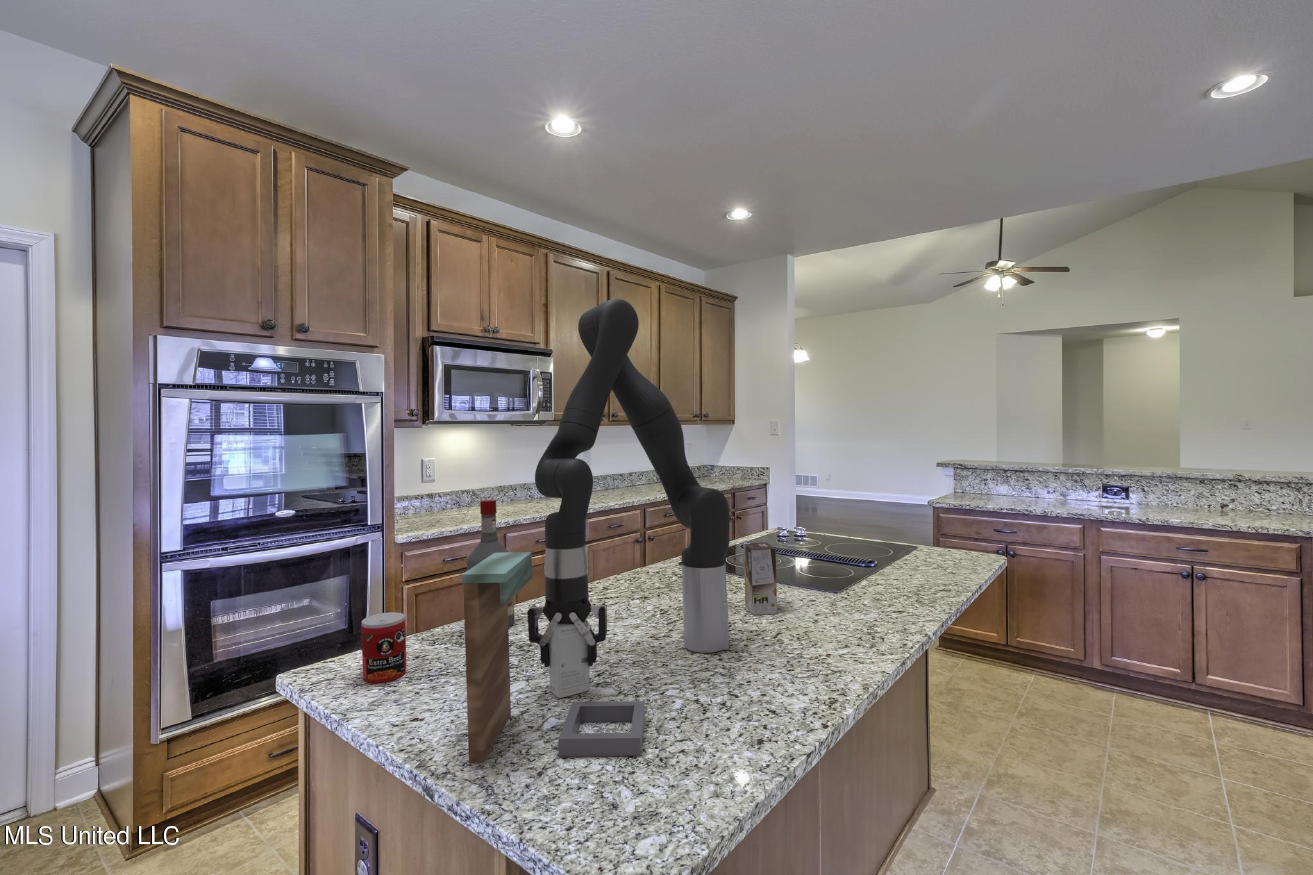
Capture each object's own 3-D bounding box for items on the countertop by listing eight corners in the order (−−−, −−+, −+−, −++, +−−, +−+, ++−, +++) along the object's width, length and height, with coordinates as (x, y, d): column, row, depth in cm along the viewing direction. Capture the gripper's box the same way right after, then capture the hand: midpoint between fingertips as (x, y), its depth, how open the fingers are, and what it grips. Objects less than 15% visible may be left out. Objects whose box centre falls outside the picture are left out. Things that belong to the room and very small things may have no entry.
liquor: (463, 631, 140) (459, 502, 139) (487, 619, 148) (484, 498, 148) (496, 634, 136) (492, 503, 136) (519, 622, 145) (515, 498, 145)
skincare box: (559, 699, 102) (557, 628, 102) (548, 690, 106) (546, 622, 106) (591, 690, 105) (589, 621, 105) (580, 681, 109) (578, 615, 109)
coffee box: (778, 614, 146) (776, 548, 146) (752, 615, 145) (750, 549, 145) (768, 603, 155) (766, 541, 155) (744, 604, 155) (742, 542, 154)
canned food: (363, 687, 109) (361, 627, 109) (362, 672, 116) (360, 616, 116) (408, 678, 113) (406, 620, 113) (404, 664, 120) (403, 609, 120)
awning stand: (536, 713, 97) (531, 551, 97) (510, 764, 82) (505, 573, 82) (499, 713, 97) (494, 552, 97) (467, 764, 82) (461, 574, 82)
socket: (645, 716, 95) (644, 700, 95) (640, 755, 83) (640, 737, 83) (572, 717, 95) (572, 701, 95) (558, 756, 84) (558, 738, 84)
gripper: (609, 566, 109) (611, 656, 109) (531, 567, 109) (533, 657, 109) (604, 575, 101) (607, 673, 102) (520, 577, 102) (523, 674, 102)
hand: (569, 664), depth 105 cm, fingers closed on skincare box, 7 cm apart
